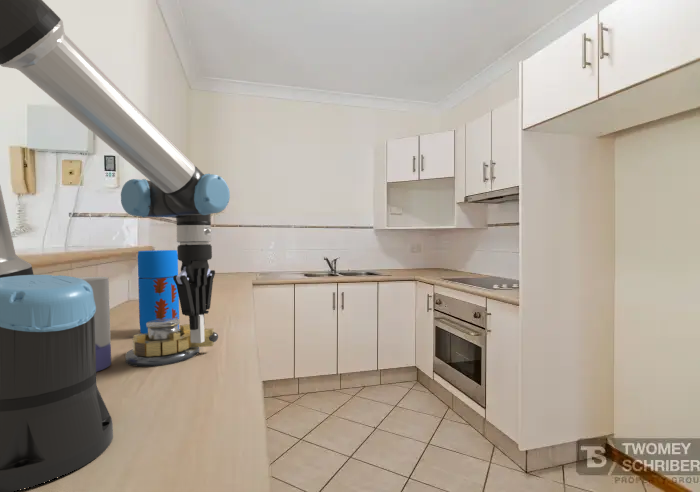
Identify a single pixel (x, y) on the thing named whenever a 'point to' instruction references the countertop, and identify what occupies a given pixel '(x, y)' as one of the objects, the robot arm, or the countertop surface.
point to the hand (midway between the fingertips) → (197, 341)
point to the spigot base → (160, 358)
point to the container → (101, 320)
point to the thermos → (157, 286)
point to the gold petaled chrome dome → (171, 342)
